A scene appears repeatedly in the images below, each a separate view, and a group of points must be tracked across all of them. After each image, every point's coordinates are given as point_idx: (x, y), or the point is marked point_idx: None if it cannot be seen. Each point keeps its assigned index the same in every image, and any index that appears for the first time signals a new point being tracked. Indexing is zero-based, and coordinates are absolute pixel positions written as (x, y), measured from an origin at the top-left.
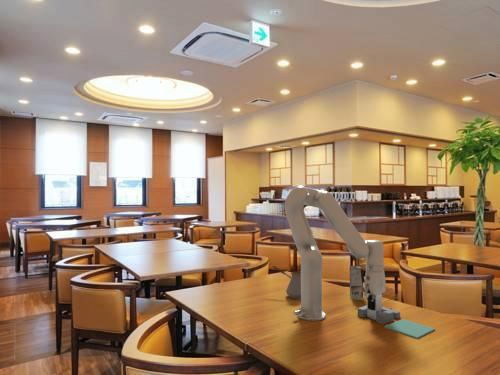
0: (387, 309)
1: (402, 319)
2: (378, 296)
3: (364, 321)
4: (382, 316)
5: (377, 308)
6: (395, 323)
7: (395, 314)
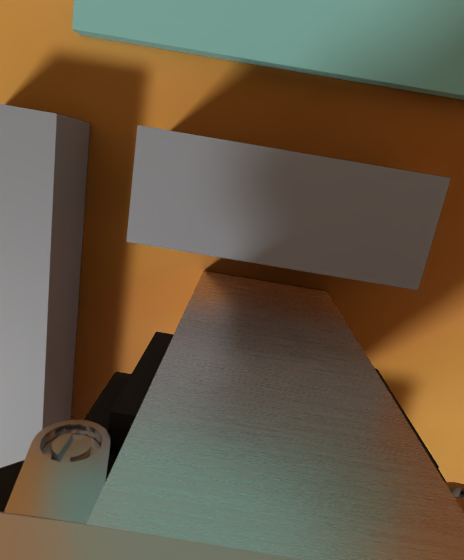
0: (4, 286)
1: (96, 19)
2: (331, 501)
3: (441, 374)
4: (446, 186)
5: (322, 343)
6: (322, 31)
7: (67, 133)
